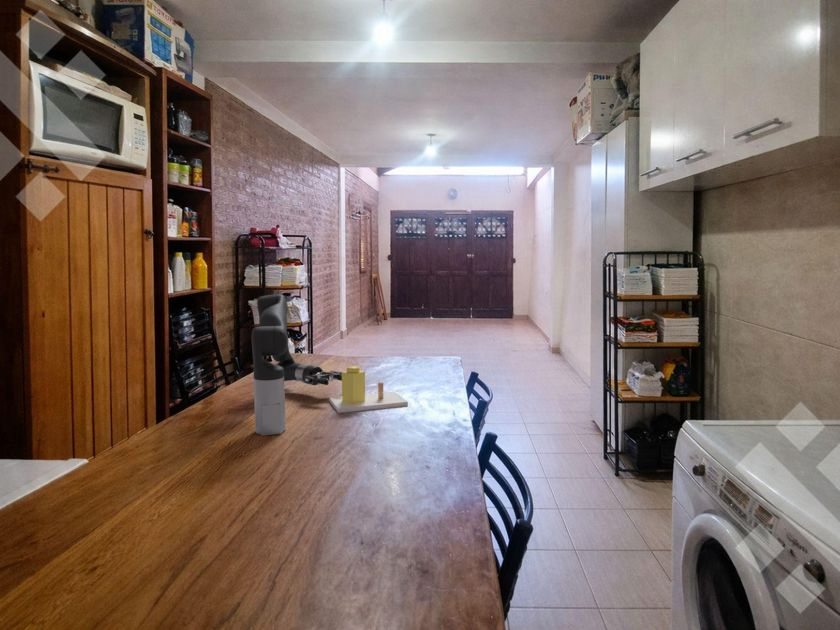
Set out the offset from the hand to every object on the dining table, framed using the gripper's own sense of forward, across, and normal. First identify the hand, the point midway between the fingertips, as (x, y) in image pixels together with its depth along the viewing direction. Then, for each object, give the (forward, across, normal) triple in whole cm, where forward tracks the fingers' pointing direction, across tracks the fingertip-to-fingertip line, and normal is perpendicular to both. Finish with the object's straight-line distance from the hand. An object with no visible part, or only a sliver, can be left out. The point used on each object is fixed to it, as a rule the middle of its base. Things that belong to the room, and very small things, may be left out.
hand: (336, 380), depth 200 cm
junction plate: (+12, +5, +8) cm, 15 cm away
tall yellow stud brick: (+9, 0, +6) cm, 11 cm away
